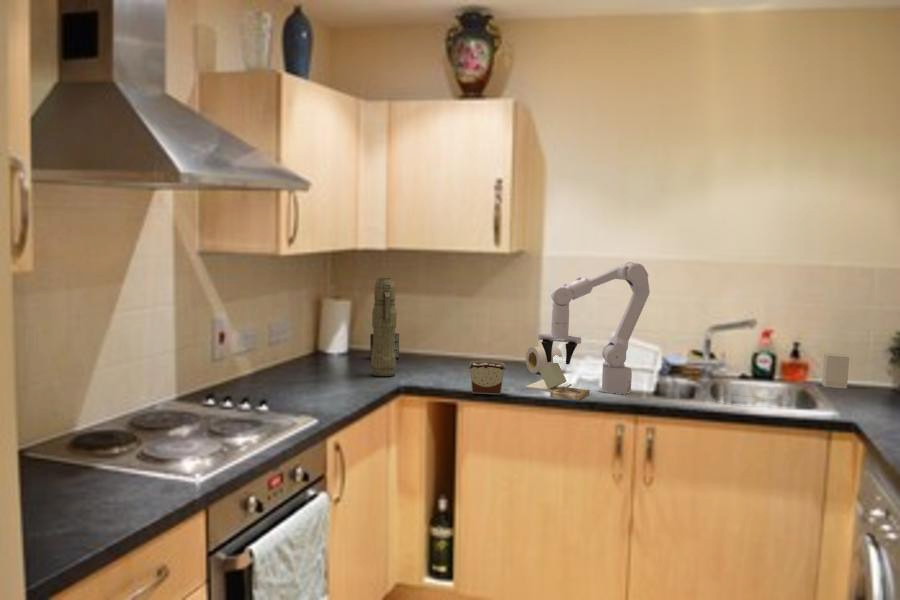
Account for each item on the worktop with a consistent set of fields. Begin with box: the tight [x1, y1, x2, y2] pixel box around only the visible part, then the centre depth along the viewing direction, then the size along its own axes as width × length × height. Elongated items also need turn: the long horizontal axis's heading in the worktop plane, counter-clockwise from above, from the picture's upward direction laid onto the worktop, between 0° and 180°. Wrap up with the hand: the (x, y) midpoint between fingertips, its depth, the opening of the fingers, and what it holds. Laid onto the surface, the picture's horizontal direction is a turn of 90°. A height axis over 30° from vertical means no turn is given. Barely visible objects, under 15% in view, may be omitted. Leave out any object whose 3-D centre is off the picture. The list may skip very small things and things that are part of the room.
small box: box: [369, 332, 400, 359], centre depth 319 cm, size 11×6×10 cm, turn 130°
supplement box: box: [821, 352, 850, 389], centre depth 280 cm, size 7×7×13 cm
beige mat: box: [525, 379, 565, 393], centre depth 270 cm, size 11×15×1 cm
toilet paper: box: [525, 345, 563, 374], centre depth 298 cm, size 10×10×10 cm
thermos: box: [370, 277, 398, 377], centre depth 285 cm, size 9×12×35 cm
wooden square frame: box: [549, 386, 590, 401], centre depth 257 cm, size 10×11×2 cm
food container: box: [467, 360, 507, 395], centre depth 259 cm, size 12×6×10 cm, turn 84°
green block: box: [539, 363, 567, 389], centre depth 265 cm, size 4×6×7 cm
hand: (558, 362), depth 264 cm, fingers open, 6 cm apart
